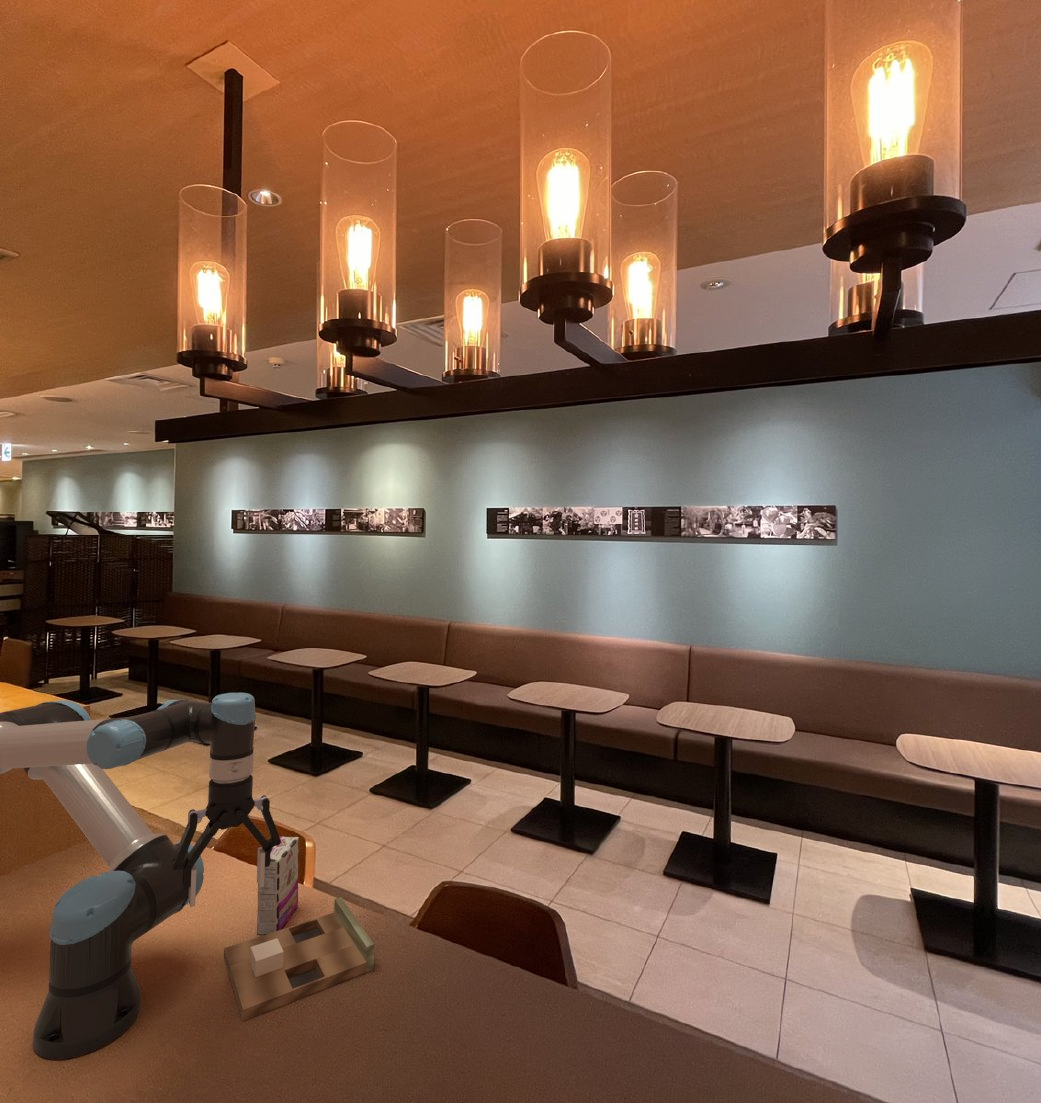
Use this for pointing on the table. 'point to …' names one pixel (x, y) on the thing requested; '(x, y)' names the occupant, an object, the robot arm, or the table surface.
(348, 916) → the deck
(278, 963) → the block
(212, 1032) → the table surface
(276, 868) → the candy bar box
